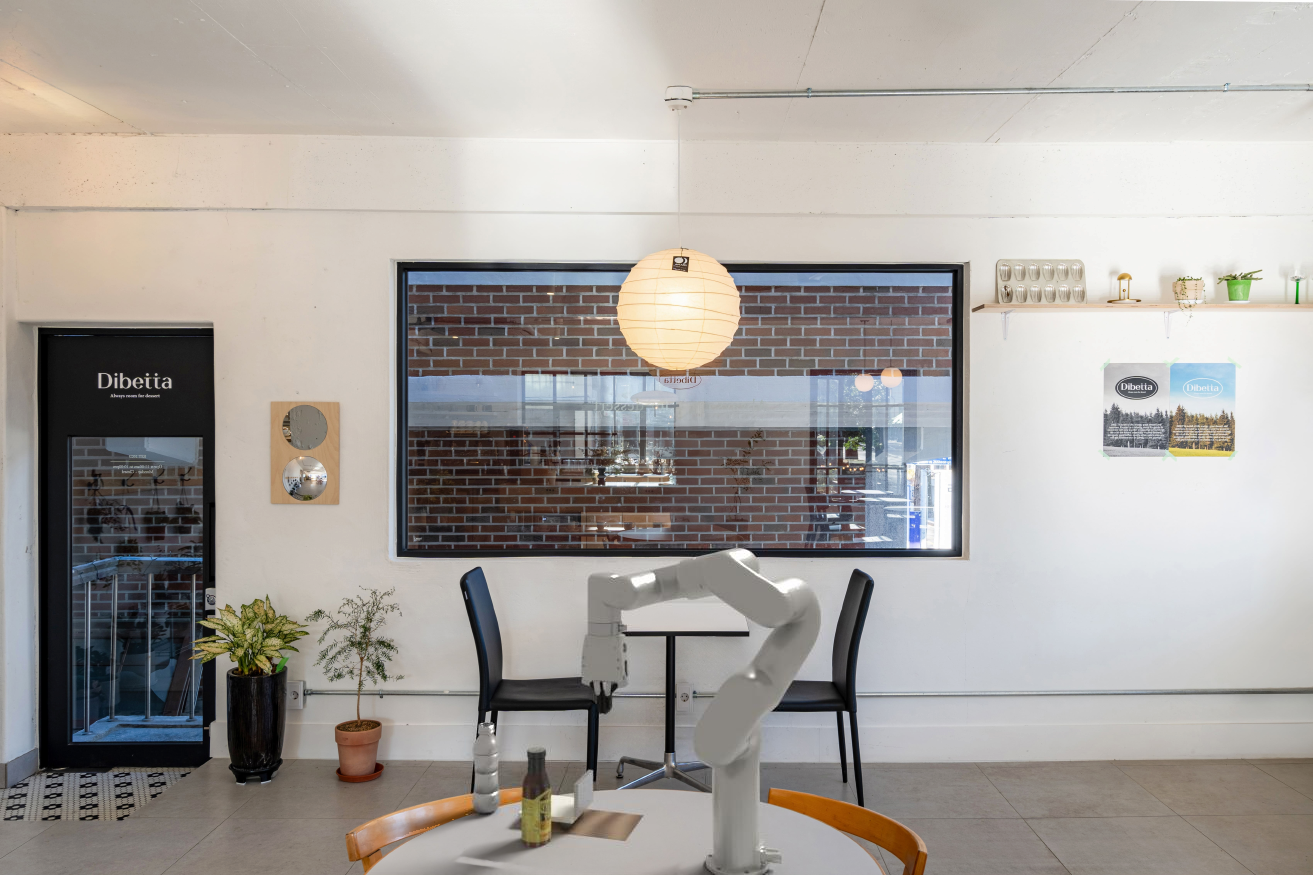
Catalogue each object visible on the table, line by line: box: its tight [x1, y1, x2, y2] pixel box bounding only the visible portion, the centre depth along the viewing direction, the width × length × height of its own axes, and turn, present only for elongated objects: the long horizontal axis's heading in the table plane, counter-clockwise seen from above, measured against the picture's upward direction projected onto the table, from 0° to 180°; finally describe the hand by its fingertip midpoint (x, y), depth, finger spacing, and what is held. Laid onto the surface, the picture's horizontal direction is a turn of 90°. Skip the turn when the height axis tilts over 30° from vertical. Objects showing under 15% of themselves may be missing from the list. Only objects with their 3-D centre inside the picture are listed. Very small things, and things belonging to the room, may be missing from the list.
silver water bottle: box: [472, 721, 501, 814], centre depth 186 cm, size 6×7×20 cm
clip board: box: [514, 808, 645, 842], centre depth 177 cm, size 26×13×1 cm, turn 74°
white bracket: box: [517, 769, 594, 830], centre depth 179 cm, size 14×11×10 cm
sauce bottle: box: [521, 746, 552, 848], centre depth 169 cm, size 7×6×20 cm
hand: (604, 712), depth 175 cm, fingers closed
